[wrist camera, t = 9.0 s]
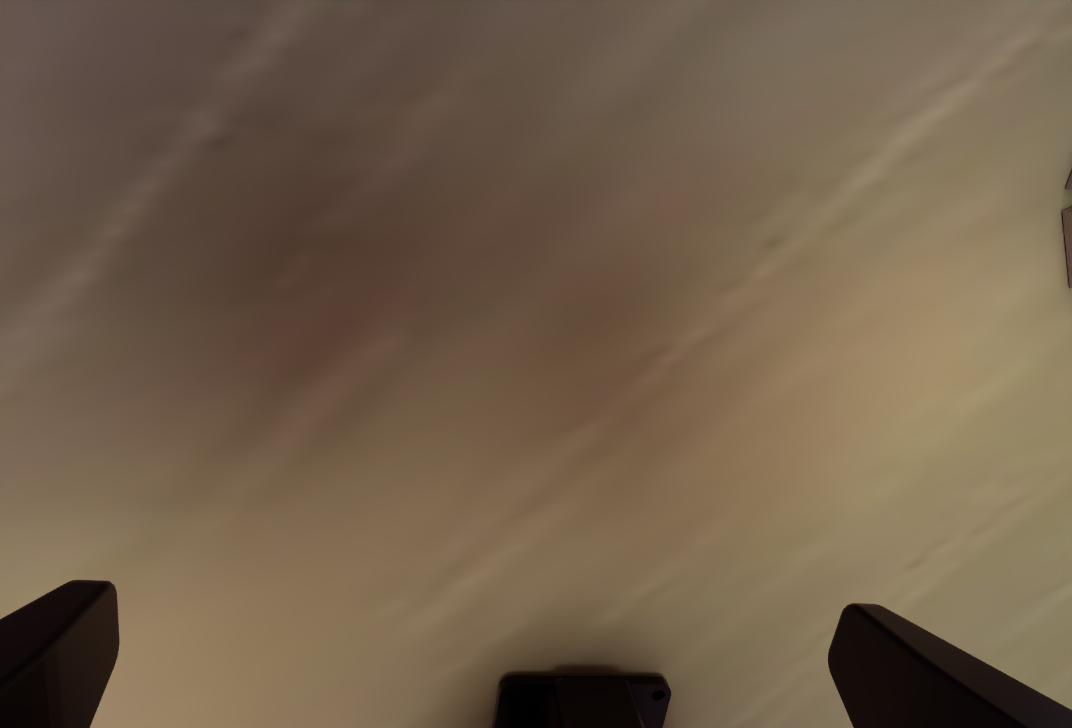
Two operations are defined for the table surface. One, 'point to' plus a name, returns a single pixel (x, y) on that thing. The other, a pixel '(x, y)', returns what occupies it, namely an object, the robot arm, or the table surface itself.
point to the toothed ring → (1068, 233)
